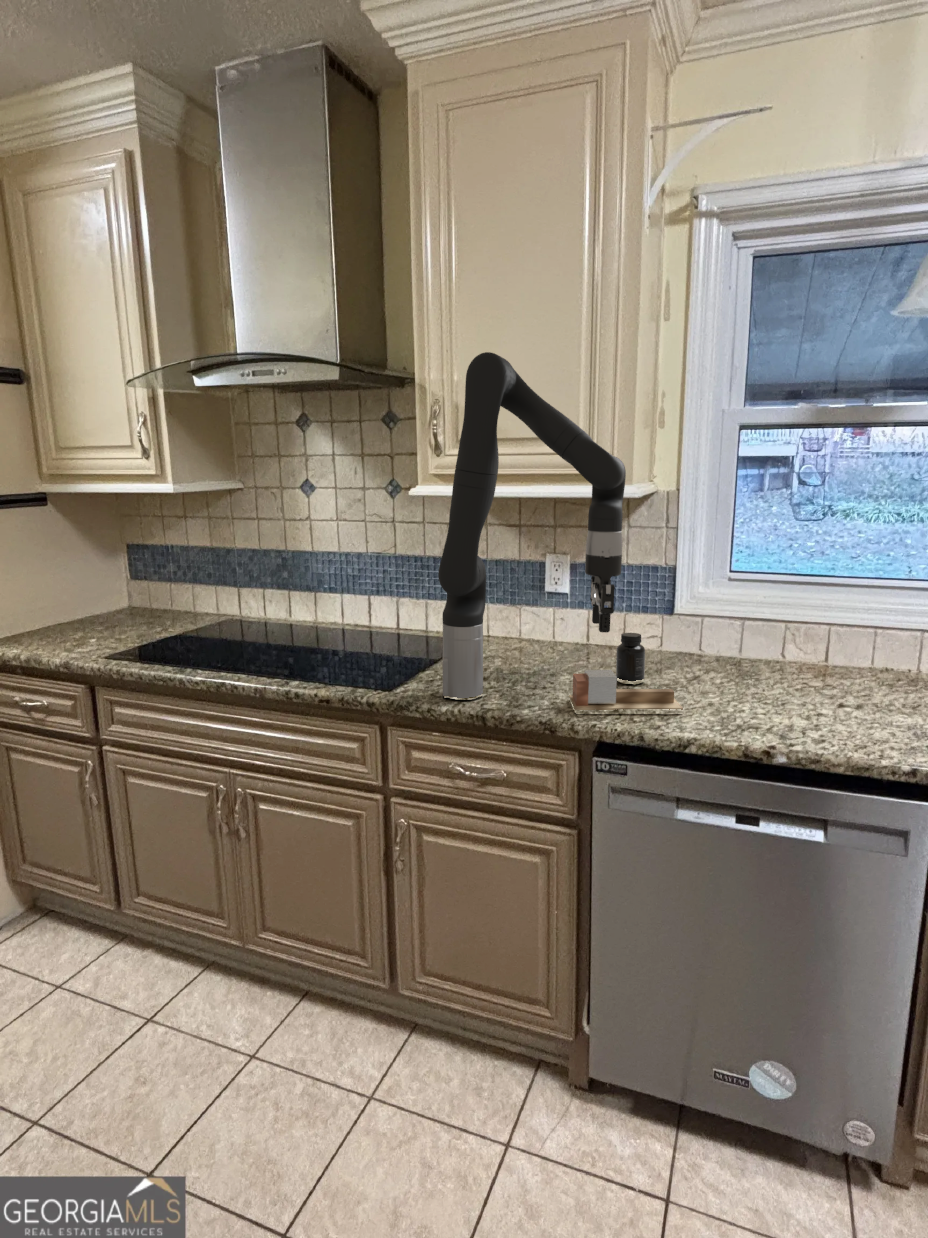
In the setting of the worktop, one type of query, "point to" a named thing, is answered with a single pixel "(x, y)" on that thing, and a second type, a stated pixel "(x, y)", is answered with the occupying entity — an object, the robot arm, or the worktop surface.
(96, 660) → the worktop surface
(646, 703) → the rail
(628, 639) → the supplement bottle
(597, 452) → the robot arm
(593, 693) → the block
